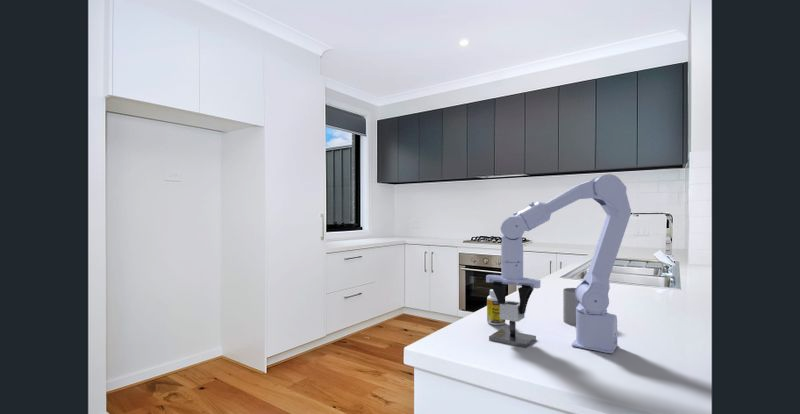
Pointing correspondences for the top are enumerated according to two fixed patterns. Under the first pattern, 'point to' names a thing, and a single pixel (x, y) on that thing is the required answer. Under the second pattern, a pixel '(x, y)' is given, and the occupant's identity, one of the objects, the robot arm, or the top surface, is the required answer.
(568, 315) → the cup
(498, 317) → the supplement bottle
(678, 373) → the top surface
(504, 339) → the block
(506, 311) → the square hole block
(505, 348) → the top surface
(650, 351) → the top surface
